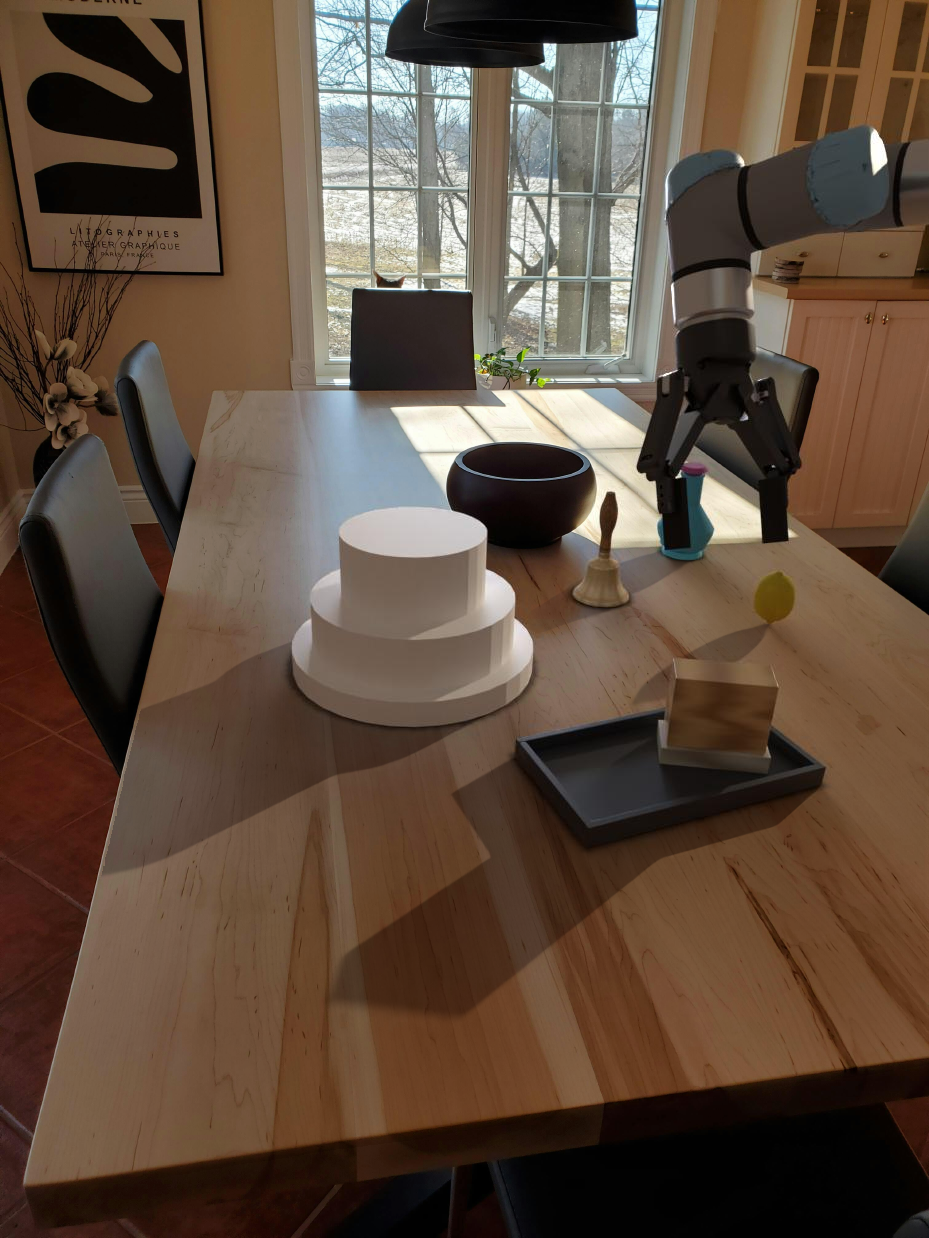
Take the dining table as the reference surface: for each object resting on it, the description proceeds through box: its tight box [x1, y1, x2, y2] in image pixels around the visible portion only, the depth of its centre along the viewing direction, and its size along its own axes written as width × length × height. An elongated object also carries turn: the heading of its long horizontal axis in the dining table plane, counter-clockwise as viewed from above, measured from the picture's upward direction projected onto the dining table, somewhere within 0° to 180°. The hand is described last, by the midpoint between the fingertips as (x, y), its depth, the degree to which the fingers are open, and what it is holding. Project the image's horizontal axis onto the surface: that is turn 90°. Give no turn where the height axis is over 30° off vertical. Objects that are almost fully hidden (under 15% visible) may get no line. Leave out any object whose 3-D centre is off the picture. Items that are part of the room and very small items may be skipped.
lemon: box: [752, 570, 797, 625], centre depth 125 cm, size 6×6×8 cm
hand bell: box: [572, 490, 630, 608], centre depth 130 cm, size 8×8×16 cm
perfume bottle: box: [656, 461, 715, 561], centre depth 147 cm, size 9×9×15 cm
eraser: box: [656, 657, 780, 774], centre depth 93 cm, size 11×6×10 cm, turn 82°
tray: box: [514, 706, 827, 849], centre depth 93 cm, size 16×28×2 cm, turn 112°
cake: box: [291, 506, 534, 728], centre depth 110 cm, size 30×30×18 cm
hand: (728, 546), depth 88 cm, fingers open, 13 cm apart
